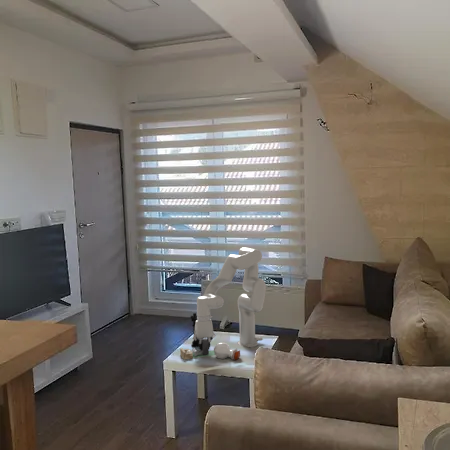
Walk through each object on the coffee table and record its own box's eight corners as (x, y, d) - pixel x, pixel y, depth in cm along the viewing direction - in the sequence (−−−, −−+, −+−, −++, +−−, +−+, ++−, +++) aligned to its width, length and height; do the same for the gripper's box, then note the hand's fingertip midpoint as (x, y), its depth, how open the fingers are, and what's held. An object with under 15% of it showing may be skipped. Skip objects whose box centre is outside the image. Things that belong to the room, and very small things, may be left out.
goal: (188, 353, 274) (188, 347, 273) (192, 358, 266) (192, 351, 266) (180, 355, 272) (180, 348, 271) (184, 359, 264) (183, 352, 264)
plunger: (206, 351, 275) (206, 338, 275) (208, 354, 271) (208, 340, 271) (192, 353, 273) (192, 340, 272) (194, 356, 268) (194, 342, 268)
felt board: (219, 351, 280) (219, 349, 280) (223, 355, 273) (223, 353, 273) (180, 357, 272) (180, 355, 272) (183, 361, 265) (183, 359, 264)
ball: (188, 347, 271) (184, 353, 270) (189, 349, 268) (186, 355, 267) (192, 351, 272) (188, 356, 271) (194, 353, 269) (190, 358, 268)
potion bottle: (214, 358, 272) (237, 366, 265) (208, 353, 264) (232, 361, 257) (220, 343, 276) (243, 350, 269) (214, 338, 268) (238, 344, 261)
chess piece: (203, 349, 284) (202, 316, 282) (190, 348, 286) (189, 316, 284) (206, 345, 292) (205, 313, 290) (194, 344, 293) (193, 312, 292)
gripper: (215, 314, 277) (215, 345, 279) (188, 318, 272) (188, 349, 273) (219, 318, 270) (220, 349, 272) (191, 321, 265) (192, 353, 266)
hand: (204, 348), depth 272 cm, fingers closed on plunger, 3 cm apart
